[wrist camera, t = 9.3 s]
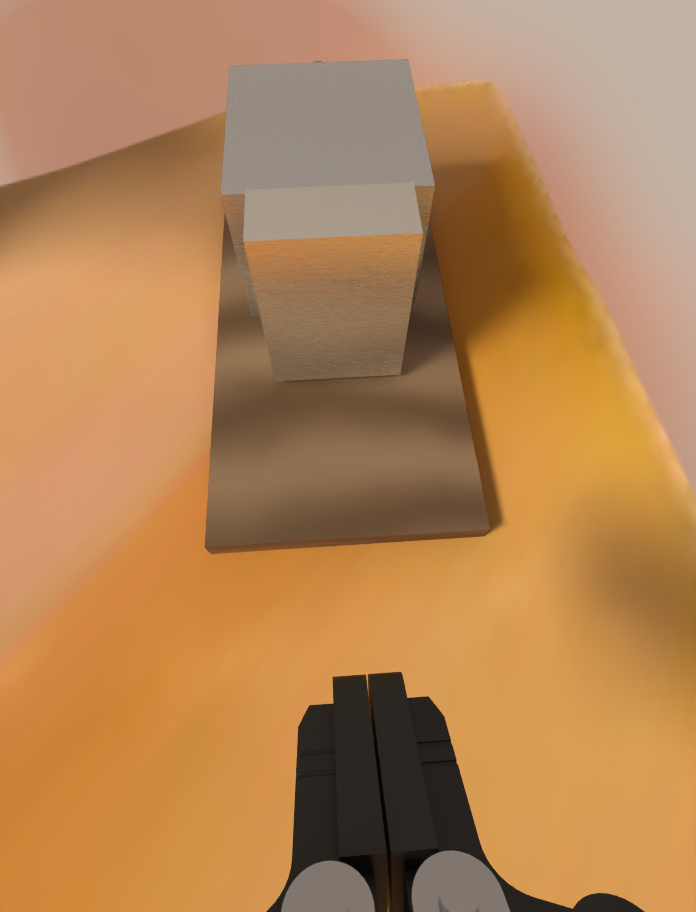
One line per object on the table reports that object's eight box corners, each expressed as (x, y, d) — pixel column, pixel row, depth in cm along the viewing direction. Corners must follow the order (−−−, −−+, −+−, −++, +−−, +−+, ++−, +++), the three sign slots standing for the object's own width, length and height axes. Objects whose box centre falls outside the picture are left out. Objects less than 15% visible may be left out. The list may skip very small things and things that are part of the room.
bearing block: (414, 308, 31) (435, 185, 24) (251, 316, 31) (220, 194, 23) (395, 192, 36) (408, 59, 28) (254, 198, 35) (229, 65, 28)
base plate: (484, 536, 26) (490, 529, 25) (210, 553, 25) (204, 547, 24) (417, 187, 38) (420, 172, 37) (230, 195, 37) (226, 180, 36)
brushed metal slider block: (400, 374, 28) (422, 232, 20) (275, 381, 28) (243, 241, 19) (368, 140, 37) (374, -25, 29) (274, 144, 37) (252, -21, 29)
